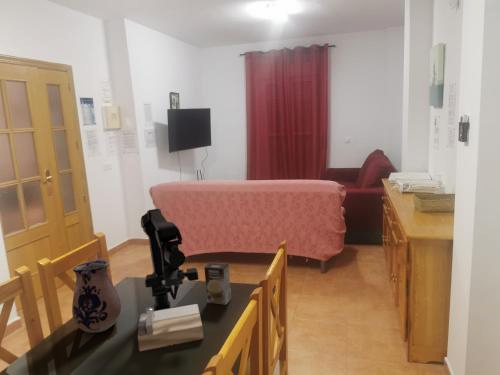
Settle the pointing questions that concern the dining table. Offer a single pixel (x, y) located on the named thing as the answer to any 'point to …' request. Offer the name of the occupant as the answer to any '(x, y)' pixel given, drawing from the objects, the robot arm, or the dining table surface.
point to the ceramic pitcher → (94, 297)
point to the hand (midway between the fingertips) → (174, 299)
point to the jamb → (172, 313)
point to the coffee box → (217, 283)
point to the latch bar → (149, 319)
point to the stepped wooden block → (170, 332)
